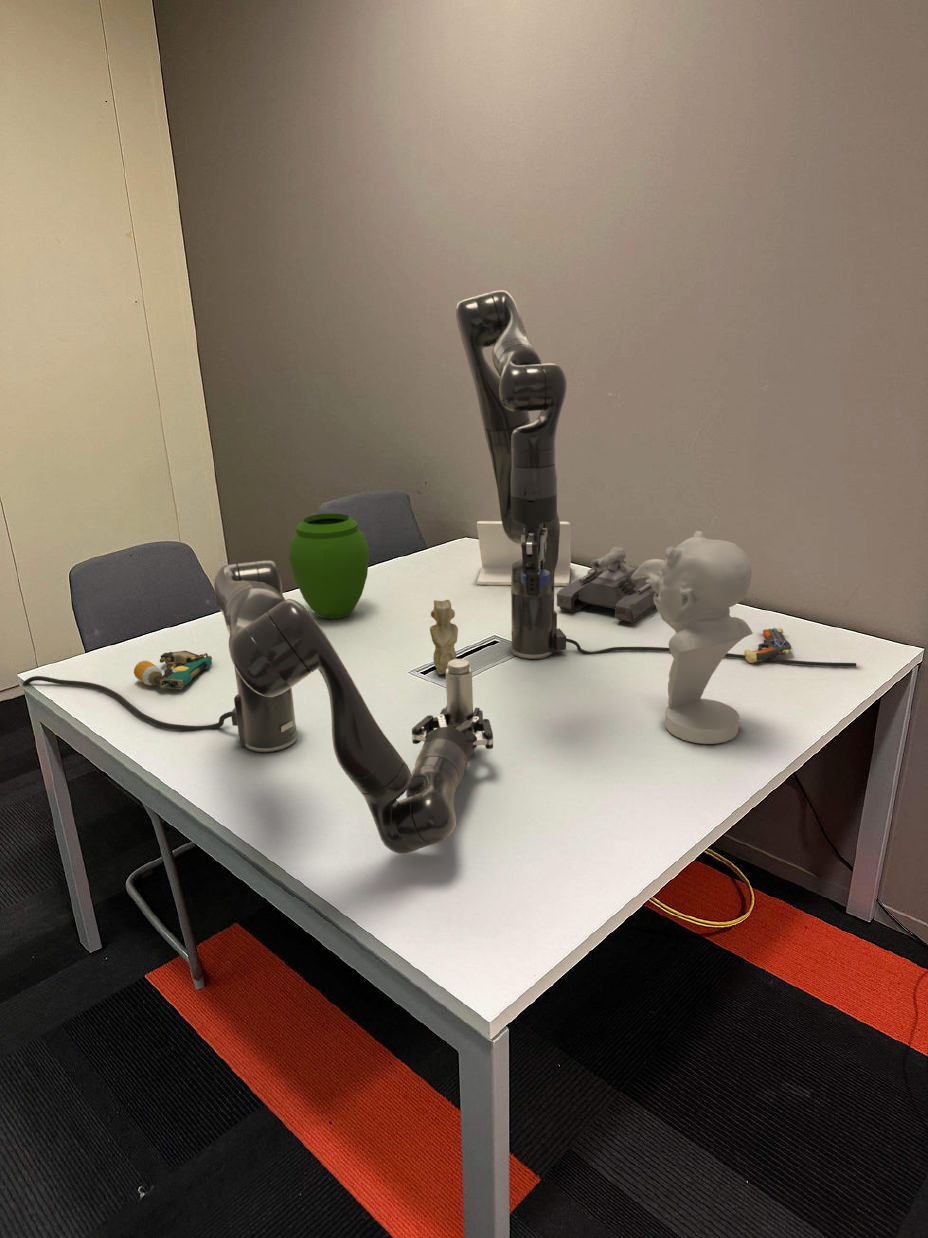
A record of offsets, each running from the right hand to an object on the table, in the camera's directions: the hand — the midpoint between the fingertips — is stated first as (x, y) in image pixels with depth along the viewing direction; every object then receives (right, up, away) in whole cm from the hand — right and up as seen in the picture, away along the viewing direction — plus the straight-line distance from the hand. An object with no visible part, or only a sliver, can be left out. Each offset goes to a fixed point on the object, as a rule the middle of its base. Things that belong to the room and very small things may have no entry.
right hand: (535, 589), depth 146 cm
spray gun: (-73, -17, +35) cm, 83 cm away
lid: (0, +2, -1) cm, 3 cm away
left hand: (-12, -21, +2) cm, 24 cm away
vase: (-45, -4, +68) cm, 82 cm away
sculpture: (-16, -16, +34) cm, 41 cm away
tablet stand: (+5, +7, +93) cm, 94 cm away
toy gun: (+53, -12, +40) cm, 68 cm away
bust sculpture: (+27, -24, +10) cm, 38 cm away
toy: (+26, -2, +69) cm, 74 cm away
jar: (-13, -28, +1) cm, 31 cm away
